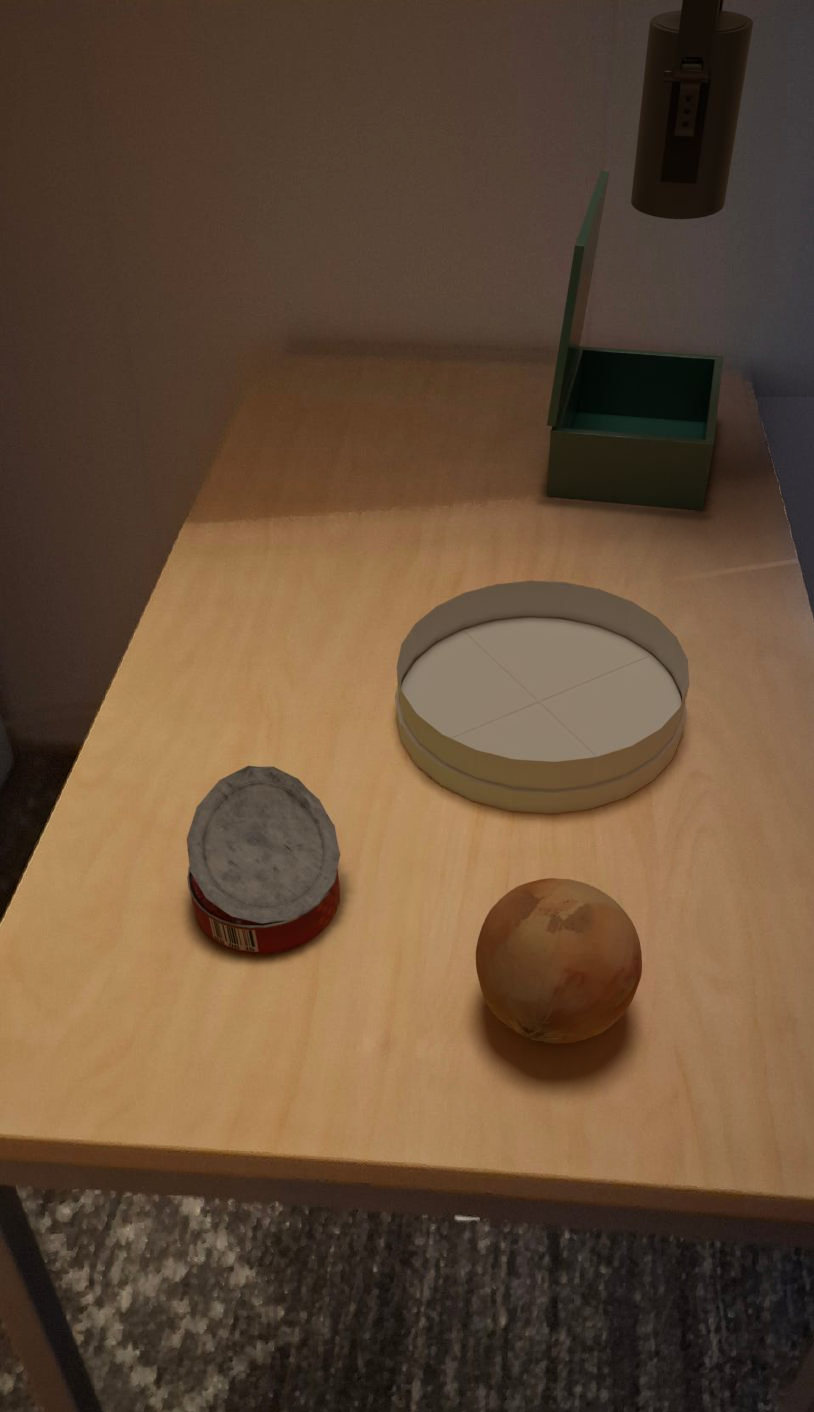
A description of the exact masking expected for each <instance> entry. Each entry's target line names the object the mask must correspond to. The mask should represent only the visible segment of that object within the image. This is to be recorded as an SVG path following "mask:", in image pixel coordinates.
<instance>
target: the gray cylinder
mask: <svg viewBox="0 0 814 1412" xmlns="http://www.w3.org/2000/svg"><path fill="white" fill-rule="evenodd" d="M681 10H682V9H680V10H679V9H677V10H672V11H666V12H663V13H660V14H657V15H655V16H653V17H652V18H651V19H650V20H649V26H648V36H647V43H646V44H647V45H646V55H645V63H644V64H645V65H644V73H643V82H642V91H641V93H642V94H641V104H640V112H639V120H638V130H637V141H636V150H635V160H634V170H633V179H632V187H631V188H632V189H631V197H630V198H631V199H630V203H631V205H632V206H631V207H633V208H634V209H635V210H636V211H638V212H640V213H642V214H644V215H647V216H651V217H655V218H659V219H660V218H661V219H668V220H692V219H693V220H694V219H700V218H701V219H702V218H705V217H706V218H707V217H710V216H713V215H715V214H717V213H719V212H720V211H722V210H723V208H724V207H725V204H726V197H727V190H728V185H729V179H730V173H731V172H730V171H731V166H732V160H733V153H734V148H735V147H734V146H735V140H736V135H737V134H736V133H737V127H738V121H739V116H740V109H741V102H742V96H743V90H744V83H745V78H746V70H747V65H748V58H749V52H750V46H751V39H752V33H753V28H754V20H753V19H752V18H750V17H749V16H747V15H745V14H742V13H738V12H733V11H728V10H719V14H718V20H717V27H716V34H715V40H714V47H713V54H712V60H711V66H712V74H711V78H710V79H709V80H711V83H710V90H709V98H708V105H707V112H706V119H705V126H704V133H703V140H702V147H701V154H700V161H699V168H698V175H697V182H696V184H692V183H672V182H660V179H661V171H662V163H663V154H664V146H665V138H666V130H667V121H668V113H669V105H670V96H671V88H672V83H665V82H663V77H664V71H672V66H673V64H674V63H675V57H676V49H677V41H678V33H679V25H680V18H681ZM684 59H702V58H700V57H685V58H684Z"/></svg>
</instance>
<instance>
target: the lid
mask: <svg viewBox="0 0 814 1412" xmlns="http://www.w3.org/2000/svg"><path fill="white" fill-rule="evenodd" d="M609 177H610V171H606V170H600V171H599V175H598V177H597V181H596V183H595V186H594V189H593V191H592V194H591V198H590V200H589V203H588V207H587V209H586V212H585V215H584V218H583V221H582V223H581V226H580V229H579V232H578V235H577V238H576V241H575V244H574V249H573V255H572V260H571V261H572V263H571V268H570V273H569V281H568V286H567V294H566V299H565V306H564V311H563V312H564V313H563V319H562V326H561V331H560V338H559V344H558V351H557V358H556V362H555V363H556V364H555V370H554V377H553V383H552V390H551V396H550V401H549V408H548V416H547V421H546V426H549V427H552V426H554V427H555V426H556V423H557V420H558V416H559V413H560V409H561V406H562V403H563V399H564V396H565V392H566V389H567V386H568V382H569V379H570V376H571V372H572V369H573V365H574V362H575V359H576V355H577V352H578V349H579V346H581V343H582V342H581V341H582V337H583V330H584V324H585V319H586V312H587V306H588V302H589V301H588V300H589V296H590V295H589V294H590V288H591V283H592V276H593V272H594V265H595V259H596V254H597V247H598V242H599V235H600V228H601V225H602V224H601V223H602V219H603V212H604V206H605V200H606V194H607V188H608V182H609Z"/></svg>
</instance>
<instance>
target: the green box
mask: <svg viewBox="0 0 814 1412" xmlns="http://www.w3.org/2000/svg"><path fill="white" fill-rule="evenodd" d="M723 365H724V355H711V354H695V353H685V352H683V353H681V352H667V351H654V350H653V351H652V350H639V349H625V348H613V347H612V348H611V347H596V346H583V345H579V349H578V352H577V355H576V359H575V362H574V365H573V369H572V372H571V376H570V379H569V382H568V386H567V389H566V392H565V396H564V399H563V403H562V406H561V409H560V413H559V416H558V420H557V423H556V426H555V427H554V426H551V429H550V435H549V436H550V437H549V451H548V467H547V479H546V481H547V483H546V494H545V496H546V497H547V498H554V499H555V498H556V499H565V500H566V499H567V500H575V501H577V500H578V501H589V502H598V503H609V504H619V505H621V504H622V505H631V506H641V507H651V508H664V509H673V510H674V509H675V510H685V511H694V512H695V511H697V512H703V508H704V503H705V497H706V492H707V485H708V481H709V475H710V468H711V464H712V458H713V454H714V453H713V452H714V447H715V439H716V430H717V419H718V411H719V402H720V393H721V392H720V391H721V383H722V374H723Z"/></svg>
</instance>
